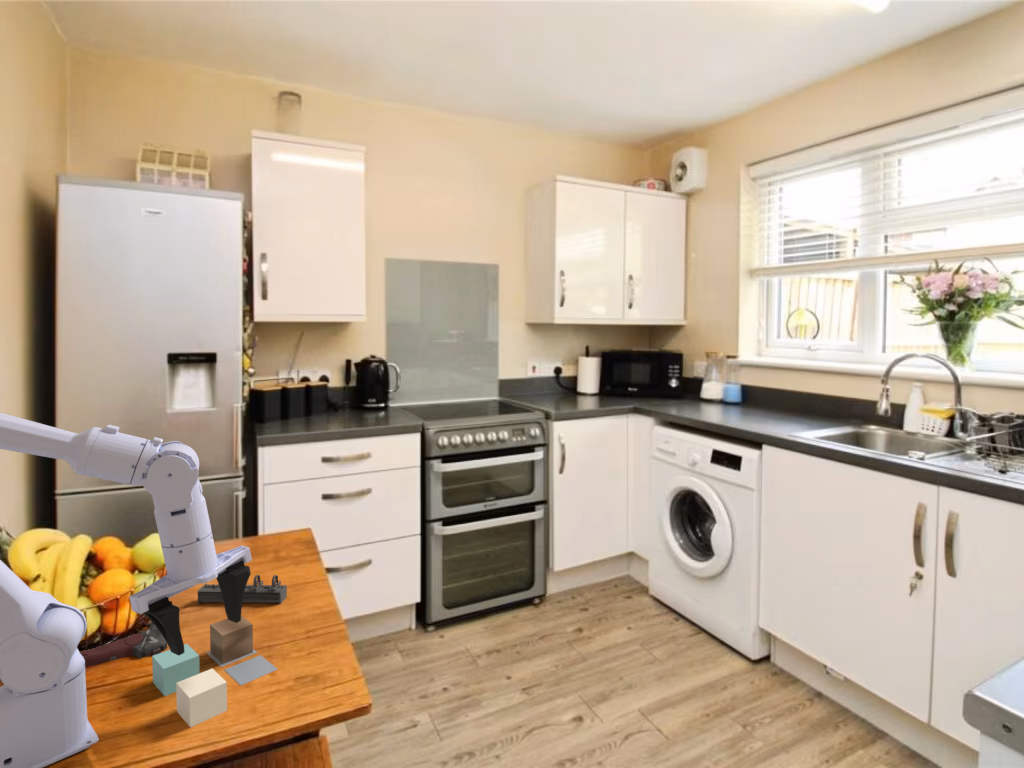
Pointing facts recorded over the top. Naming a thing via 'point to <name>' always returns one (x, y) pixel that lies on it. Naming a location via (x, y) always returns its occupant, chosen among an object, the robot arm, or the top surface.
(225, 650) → the walnut cube
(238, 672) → the white tray board
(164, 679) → the teal cube
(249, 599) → the light fixture
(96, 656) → the pistol
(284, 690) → the top surface
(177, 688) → the cream cube
